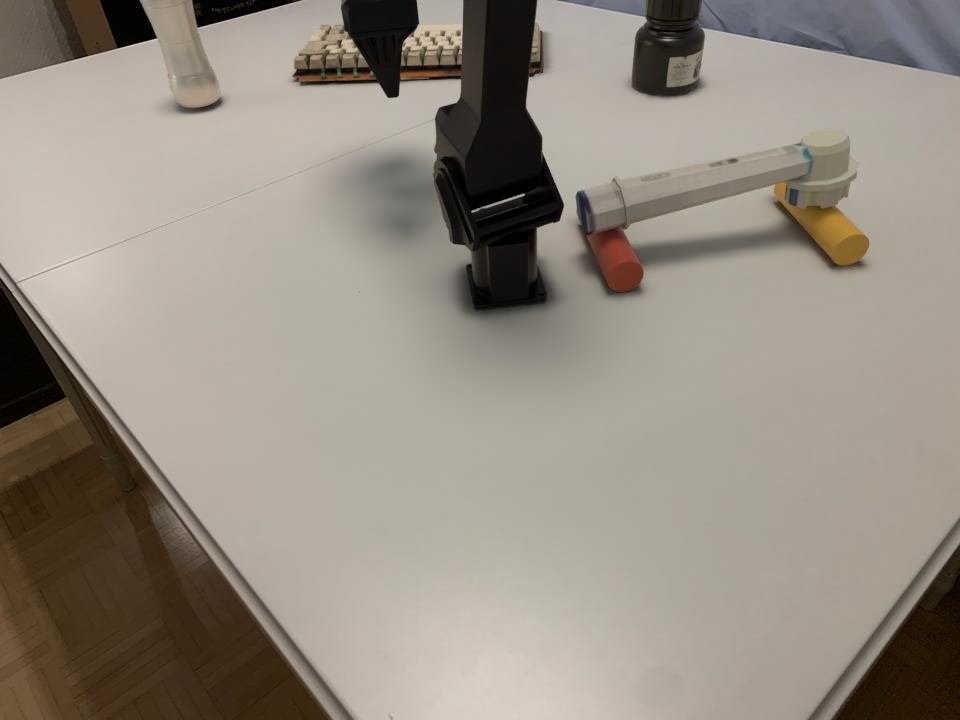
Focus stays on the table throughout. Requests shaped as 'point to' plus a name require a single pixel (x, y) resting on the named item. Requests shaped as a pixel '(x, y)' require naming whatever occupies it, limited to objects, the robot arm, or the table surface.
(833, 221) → the rod yellow
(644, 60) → the ink bottle
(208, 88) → the plastic bottle
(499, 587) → the table surface
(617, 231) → the rod red
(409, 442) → the table surface
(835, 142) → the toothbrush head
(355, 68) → the mechanical keyboard
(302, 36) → the table surface
